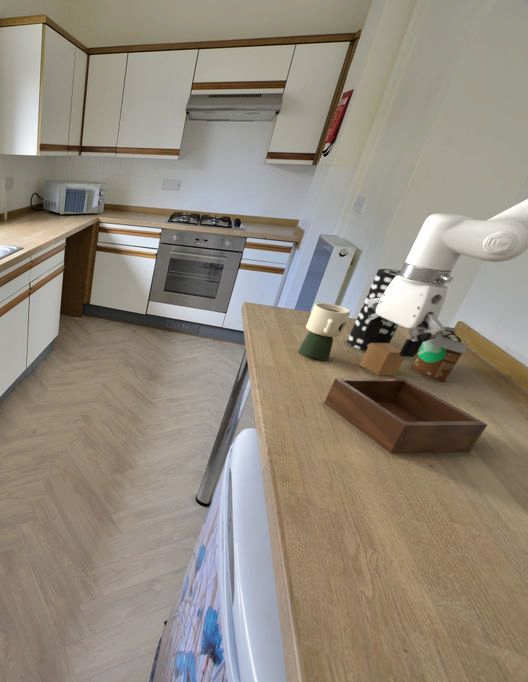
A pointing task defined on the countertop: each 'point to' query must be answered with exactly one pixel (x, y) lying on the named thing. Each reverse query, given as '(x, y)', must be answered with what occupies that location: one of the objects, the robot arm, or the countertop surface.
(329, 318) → the character mug
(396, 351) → the box
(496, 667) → the countertop surface
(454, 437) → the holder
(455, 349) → the food container
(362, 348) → the white-spotted black cylinder
